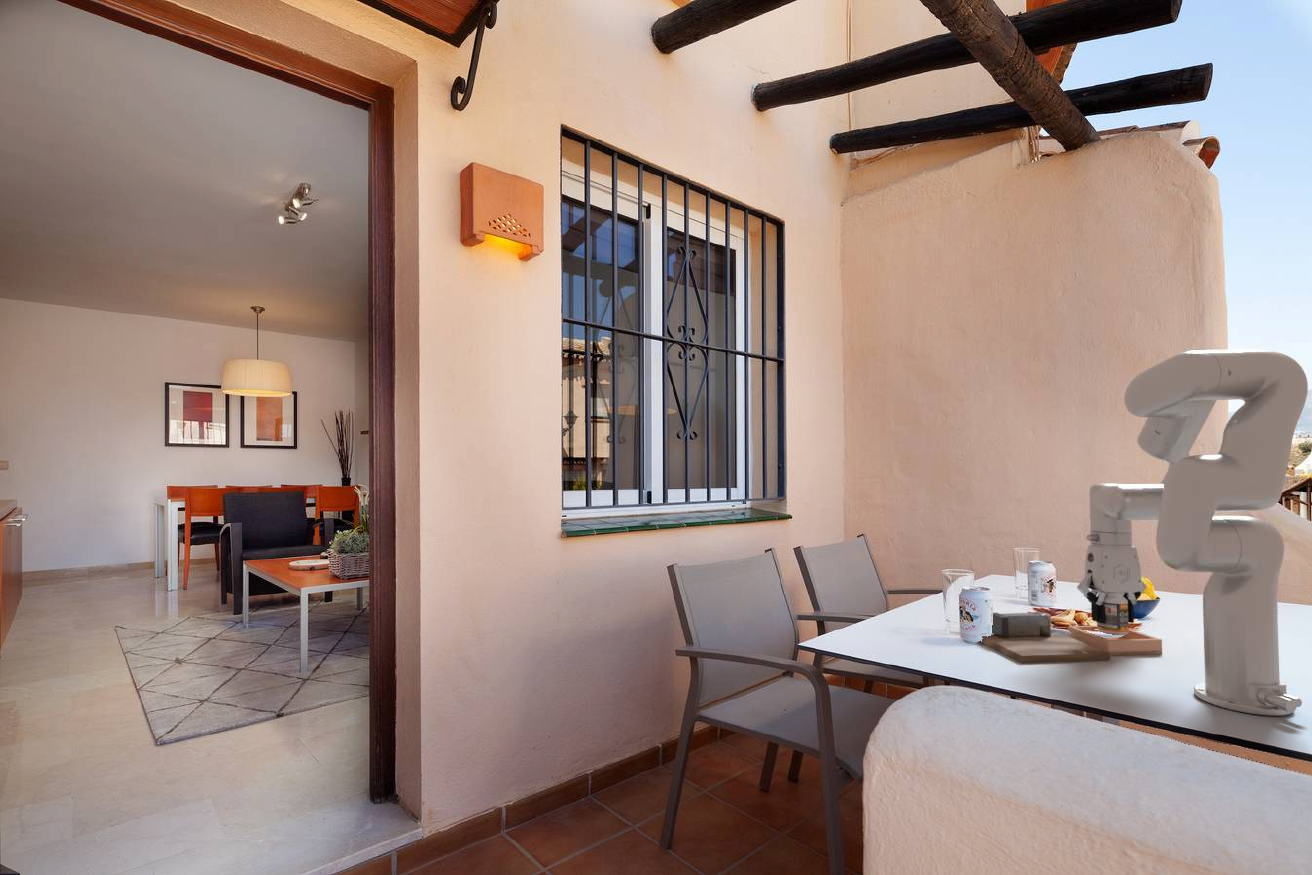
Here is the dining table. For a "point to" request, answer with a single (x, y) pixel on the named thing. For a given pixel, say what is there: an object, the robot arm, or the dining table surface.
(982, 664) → the dining table surface
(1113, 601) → the pill bottle
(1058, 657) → the cutting board
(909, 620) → the dining table surface
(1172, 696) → the dining table surface
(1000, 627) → the grey block
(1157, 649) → the tray
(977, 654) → the dining table surface
